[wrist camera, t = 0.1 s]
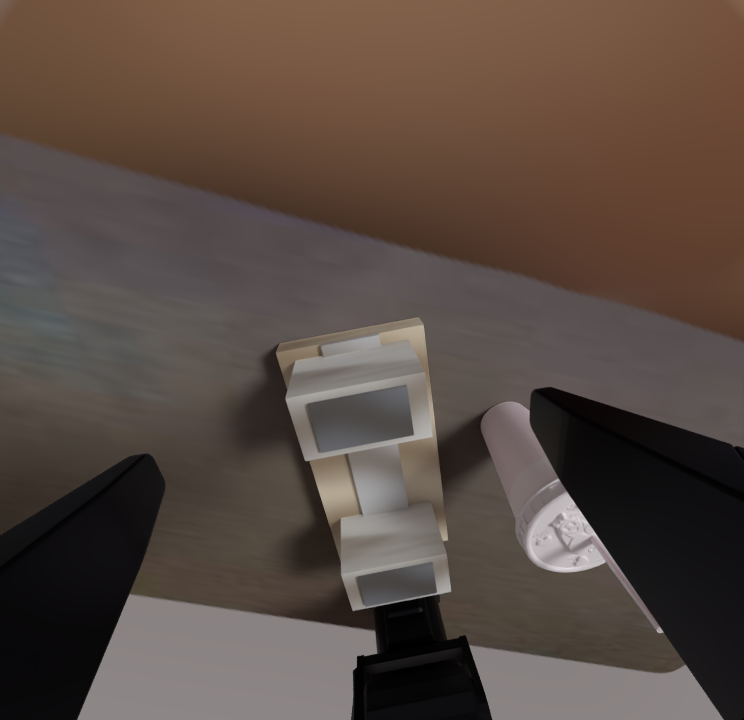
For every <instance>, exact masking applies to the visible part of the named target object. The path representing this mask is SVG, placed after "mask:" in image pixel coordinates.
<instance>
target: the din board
mask: <svg viewBox="0 0 744 720" xmlns="http://www.w3.org/2000/svg"><path fill="white" fill-rule="evenodd" d="M276 355H277V358H278V362H279V365H280V368H281V371H282V374H283V378H284V381H285V384H286V387H287V394H286V398H285V399H286V402H287V405H288V409H289V412H290V415H291V418H292V421H293V424H294V427H295V431H296V434H297V437H298V440H299V443H300V446H301V450H302V453H303V456H304V459H305V461H310V465H311V468H312V471H313V474H314V477H315V481H316V484H317V487H318V490H319V493H320V497H321V500H322V503H323V506H324V510H325V513H326V516H327V519H328V522H329V526H330V529H331V532H332V535H333V538H334V542H335V545H336V548H337V551H338V555H339V558H340V561H341V576H342V579H343V582H344V585H345V588H346V591H347V594H348V598H349V601H350V604H351V607H352V610H353V611H355V610H360V609H366V608H371V607H376V606H381V605H386V604H391V603H396V602H401V601H406V600H412V599H417V598H422V597H427V596H432V595H437V594H442V593H447V592H451V586H450V578H449V570H448V561H447V553H446V550H445V547H444V543H443V541H447V540H448V536H447V527H446V518H445V509H444V500H443V491H442V483H441V474H440V465H439V456H438V447H437V439H436V430H435V421H434V412H433V403H432V395H431V386H430V377H429V368H428V359H427V351H426V342H425V333H424V325H423V323H422V322H421V320H420V319H419V317H417V318H411V319H406V320H401V321H395V322H390V323H385V324H380V325H374V326H369V327H364V328H359V329H353V330H348V331H343V332H337V333H332V334H327V335H322V336H316V337H311V338H306V339H301V340H295V341H290V342H285V343H280V344H279V346H278V348H277V351H276Z"/></svg>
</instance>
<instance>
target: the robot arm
mask: <svg viewBox="0 0 744 720" xmlns="http://www.w3.org/2000/svg"><path fill="white" fill-rule="evenodd" d="M529 421H530V426H531V428H532V430H533V432H534V434H535V436H536V438H537V440H538V441H539V443H540V445H541V447H542V449H543V451H544V453H545V454H546V456H547V458H548V460H549V462H550V464H551V466H552V467H553V469H554V471H555V473H556V475H557V477H558V478H559V480H560V482H561V483H562V485H563V486H564V488H565V490H566V491H567V493H568V494H569V496H570V497H571V498H572V500H573V501H574V503H575V504H576V506H577V507H578V509H579V510H580V511H581V513H582V514H583V516H584V517H585V519H586V520H587V522H588V523H589V525H590V526H591V527H592V529H593V530H594V532H595V533H596V535H597V536H598V538H599V539H600V541H601V542H602V543H603V545H604V546H605V548H606V549H607V551H608V552H609V554H610V555H611V557H612V558H613V559H614V561H615V562H616V564H617V565H618V567H619V568H620V570H621V571H622V572H623V574H624V575H625V577H626V578H627V580H628V581H629V583H630V584H631V586H632V587H633V588H634V590H635V591H636V593H637V594H638V596H639V597H640V599H641V600H642V602H643V603H644V604H645V606H646V607H647V609H648V610H649V612H650V613H651V615H652V616H653V618H654V619H655V620H656V622H657V623H658V625H659V626H660V628H661V629H662V631H663V632H664V633H665V635H666V636H667V638H668V639H669V641H670V642H671V644H672V645H673V647H674V648H675V649H676V651H677V652H678V654H679V655H680V657H681V658H682V660H683V661H684V663H685V664H686V665H687V667H688V668H689V669H690V671H691V673H692V674H693V676H694V677H695V679H696V680H697V681H698V683H699V684H700V686H701V687H702V689H703V690H704V692H705V693H706V694H707V696H708V697H709V699H710V700H711V702H712V703H713V705H714V706H715V708H716V709H717V710H718V712H719V713H720V715H721V716H722V718H723V719H724V720H744V448H742V447H739V446H735V447H733V446H732V445H731V444H729V443H726V442H723V441H719V440H716V439H713V438H710V437H707V436H704V435H701V434H697V433H694V432H691V431H688V430H685V429H682V428H678V427H675V426H672V425H669V424H666V423H663V422H660V421H656V420H653V419H650V418H647V417H644V416H641V415H638V414H634V413H631V412H628V411H625V410H622V409H619V408H616V407H612V406H609V405H606V404H603V403H600V402H597V401H594V400H590V399H587V398H584V397H581V396H578V395H575V394H572V393H568V392H565V391H562V390H559V389H556V388H553V387H545V388H539V389H534V390H533V391H532V393H531V398H530V416H529ZM164 492H165V480H164V478H163V476H162V474H161V472H160V470H159V468H158V466H157V464H156V462H155V460H154V458H153V457H152V456H151V455H150V454H140V455H134V456H130V457H128V458H126V459H124V460H123V461H121V462H119V463H118V464H116V465H114V466H113V467H111V468H109V469H108V470H106V471H105V472H103V473H101V474H100V475H98V476H96V477H95V478H93V479H92V480H90V481H88V482H87V483H85V484H83V485H82V486H80V487H78V488H77V489H75V490H74V491H72V492H70V493H69V494H67V495H65V496H64V497H62V498H61V499H59V500H57V501H56V502H54V503H52V504H51V505H49V506H47V507H46V508H44V509H43V510H41V511H39V512H38V513H36V514H34V515H33V516H31V517H30V518H28V519H26V520H25V521H23V522H21V523H20V524H18V525H16V526H15V527H13V528H12V529H10V530H8V531H7V532H5V533H3V534H2V535H0V720H77V719H78V716H79V714H80V712H81V709H82V707H83V704H84V702H85V700H86V697H87V694H88V692H89V690H90V688H91V685H92V682H93V680H94V678H95V675H96V673H97V671H98V668H99V666H100V663H101V661H102V659H103V656H104V653H105V651H106V649H107V646H108V644H109V641H110V639H111V637H112V634H113V632H114V629H115V627H116V625H117V622H118V620H119V617H120V615H121V612H122V610H123V607H124V605H125V603H126V600H127V598H128V596H129V593H130V591H131V588H132V586H133V584H134V581H135V579H136V576H137V574H138V571H139V569H140V567H141V564H142V562H143V559H144V556H145V554H146V551H147V548H148V545H149V542H150V538H151V535H152V532H153V528H154V525H155V522H156V518H157V515H158V512H159V509H160V505H161V502H162V499H163V495H164ZM439 602H440V597H439V594H437V595H432V596H427V597H422V598H417V599H412V600H406V601H401V602H396V603H391V604H386V605H381V606H376V607H371V608H372V611H373V614H374V620H375V632H376V644H377V654H374V655H369V656H364V655H362V656H357V668H356V669H355V670H353V687H354V688H353V691H354V693H353V695H354V697H353V707H352V716H351V720H492V717H491V713H490V709H489V706H488V702H487V699H486V695H485V692H484V689H483V686H482V683H481V680H480V677H479V674H478V671H477V668H476V665H475V662H474V660H473V656H472V653H471V650H470V647H469V644H468V641H467V638H466V635H464V636H459V638H456V639H451V640H447V637H446V633H445V629H444V625H443V621H442V617H441V613H440V609H439V605H438V603H439Z"/></svg>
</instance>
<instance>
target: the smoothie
mask: <svg viewBox="0 0 744 720" xmlns="http://www.w3.org/2000/svg"><path fill="white" fill-rule="evenodd" d="M529 416H530V411H529V410H527V409H526V408H525V407H524V406H522V405H521V404H519V403H516V402H503V403H499V404H497V405H495V406H493V407H492V408H490V409H489V410H488V411H487V412H486V413H485V415H484V416H483V418H482V421H481V432H482V435H483V437H484V440H485V442H486V445H487V447H488V450H489V452H490V455H491V458H492V460H493V463H494V465H495V468H496V470H497V473H498V475H499V478H500V480H501V483H502V486H503V488H504V491H505V493H506V496H507V498H508V501H509V503H510V507H511V509H512V512H513V514H514V516H515V519H516V530H515V533H516V536H517V539H518V542H519V544H520V545H521V546H522V547H523V548H524V550H525V552H526V554H527V556H528V558H529V559H530V560H531V561H532V562H533V563H534V564H536V565H537V566H539V567H541V568H543V569H546V570H549V571H553V572H564V573H565V572H577V571H582V570H587V569H590V568H593V567H596V566H599V565H601V564H603V563H605V562H606V563H607V564H608V565H609V567H610V568H611V569H612V571H613V572H614V574H615V575H616V576H617V578H618V579H619V580H620V582H621V583H622V584H623V586H624V587H625V588H626V590H627V591H628V593H629V594H630V595H631V597H632V598H633V599H634V601H635V602H636V603H637V605H638V606H639V607H640V609H641V610H642V612H643V613H644V614H645V616H646V617H647V618H648V620H649V621H650V622H651V624H652V625H653V626H654V628H655V629H656V631H657V632H658V633H664V632H663V631H662V629H661V628H660V626H659V625H658V623H657V622H656V620H655V619H654V618H653V616H652V615H651V613H650V612H649V610H648V609H647V607H646V606H645V604H644V603H643V602H642V600H641V599H640V597H639V596H638V594H637V593H636V591H635V590H634V588H633V587H632V586H631V584H630V583H629V581H628V580H627V578H626V577H625V575H624V574H623V572H622V571H621V570H620V568H619V567H618V565H617V564H616V562H615V561H614V559H613V558H612V557H611V555H610V554H609V552H608V551H607V549H606V548H605V546H604V545H603V543H602V542H601V541H600V539H599V538H598V536H597V535H596V533H595V532H594V530H593V529H592V527H591V526H590V525H589V523H588V522H587V520H586V519H585V517H584V516H583V514H582V513H581V511H580V510H579V509H578V507H577V506H576V504H575V503H574V501H573V500H572V498H571V497H570V496H569V494H568V493H567V491H566V490H565V488H564V486H563V485H562V483H561V482H560V480H559V478H558V477H557V475H556V473H555V471H554V469H553V467H552V466H551V464H550V462H549V460H548V458H547V456H546V454H545V453H544V451H543V449H542V447H541V445H540V443H539V441H538V440H537V438H536V436H535V434H534V432H533V430H532V428H531V426H530V421H529Z"/></svg>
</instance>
